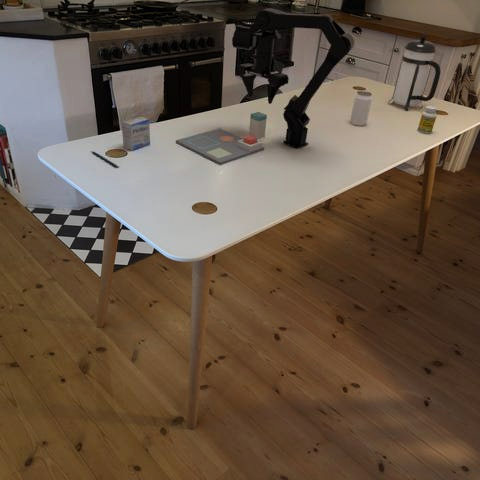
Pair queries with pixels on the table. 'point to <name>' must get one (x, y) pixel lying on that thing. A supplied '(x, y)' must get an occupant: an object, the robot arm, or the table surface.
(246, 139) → the button
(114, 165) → the pencil
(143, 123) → the medicine box
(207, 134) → the picture board
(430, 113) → the supplement bottle
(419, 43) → the coffee press
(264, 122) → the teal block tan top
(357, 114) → the can
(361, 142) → the table surface
